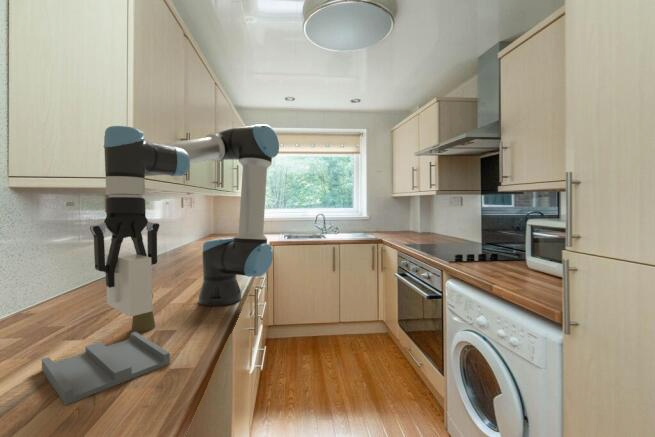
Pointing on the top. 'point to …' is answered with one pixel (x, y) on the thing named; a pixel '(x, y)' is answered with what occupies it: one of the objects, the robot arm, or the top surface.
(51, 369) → the grey grooved stand
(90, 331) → the top surface
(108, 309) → the top surface
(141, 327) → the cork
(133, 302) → the clay block
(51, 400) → the top surface
